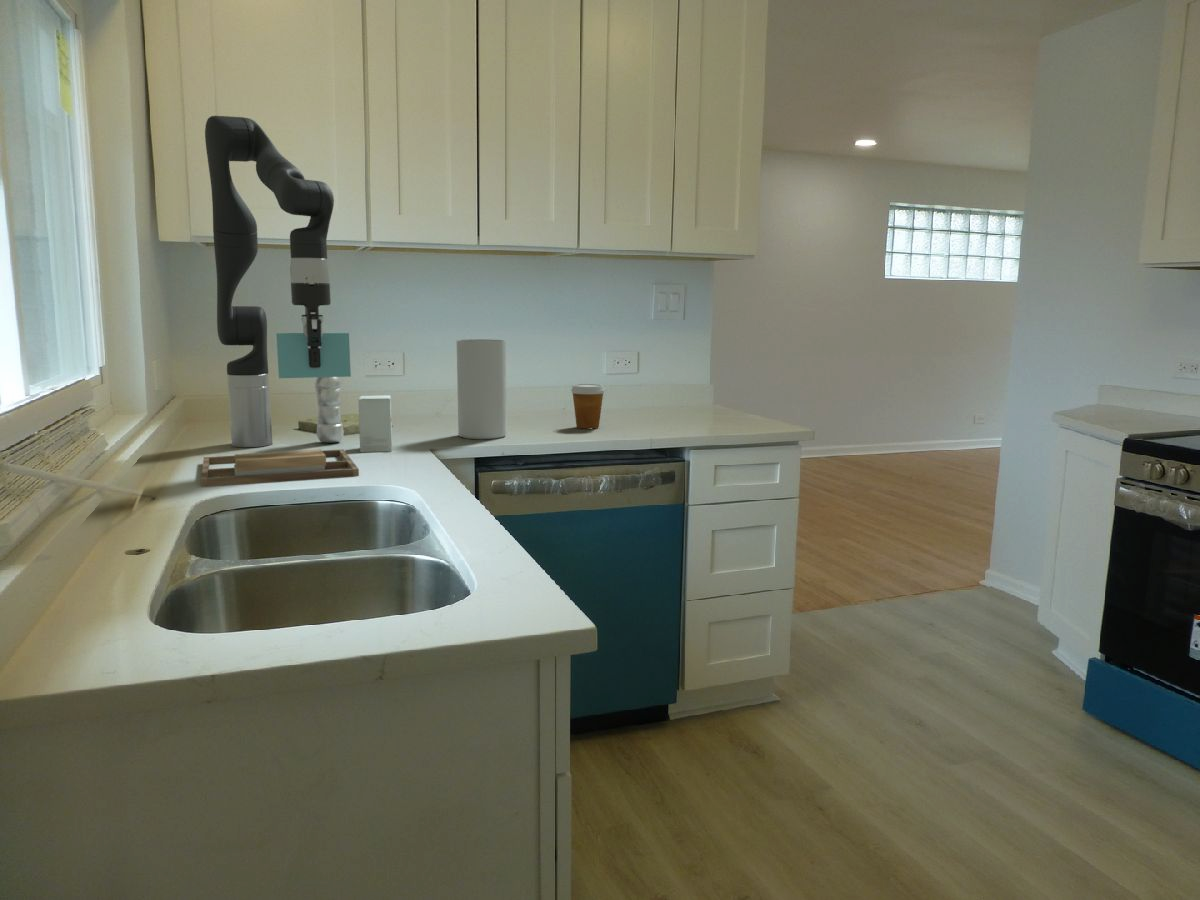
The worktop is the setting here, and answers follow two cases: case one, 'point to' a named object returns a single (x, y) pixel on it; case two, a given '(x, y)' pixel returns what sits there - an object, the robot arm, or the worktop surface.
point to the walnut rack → (276, 477)
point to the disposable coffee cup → (587, 404)
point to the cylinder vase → (481, 388)
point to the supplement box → (375, 423)
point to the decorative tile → (348, 422)
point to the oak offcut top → (279, 460)
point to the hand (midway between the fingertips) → (314, 366)
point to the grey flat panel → (278, 470)
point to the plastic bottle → (329, 409)
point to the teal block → (297, 356)
